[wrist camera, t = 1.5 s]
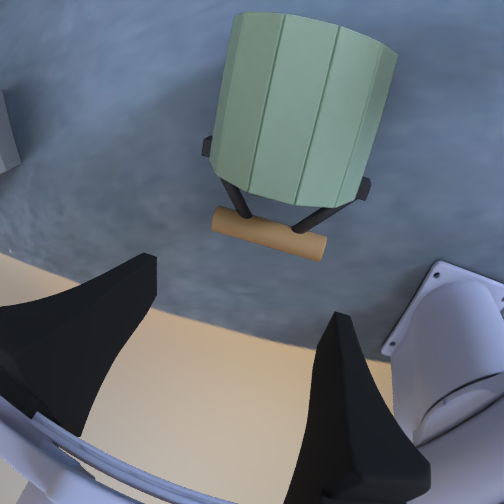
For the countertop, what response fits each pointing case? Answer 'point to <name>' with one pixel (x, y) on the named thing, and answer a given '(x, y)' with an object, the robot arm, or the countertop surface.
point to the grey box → (7, 140)
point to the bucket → (295, 123)
